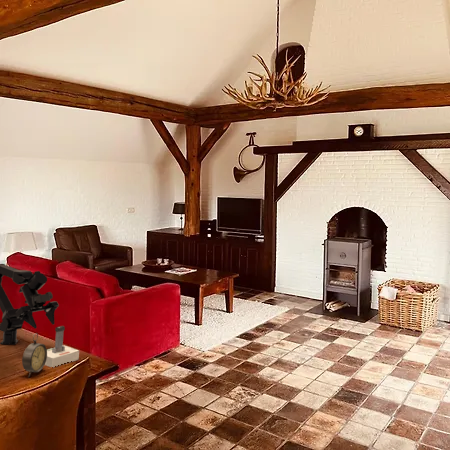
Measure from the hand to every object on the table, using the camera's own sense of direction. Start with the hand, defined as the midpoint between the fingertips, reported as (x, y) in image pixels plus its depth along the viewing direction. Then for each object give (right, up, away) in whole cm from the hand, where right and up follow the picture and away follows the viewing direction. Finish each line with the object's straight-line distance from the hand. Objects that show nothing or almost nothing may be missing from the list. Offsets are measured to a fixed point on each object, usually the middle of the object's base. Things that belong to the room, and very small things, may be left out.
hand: (45, 326), depth 207 cm
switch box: (+7, -14, -4) cm, 16 cm away
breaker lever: (+7, -10, -4) cm, 13 cm away
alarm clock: (+3, -15, -20) cm, 25 cm away
